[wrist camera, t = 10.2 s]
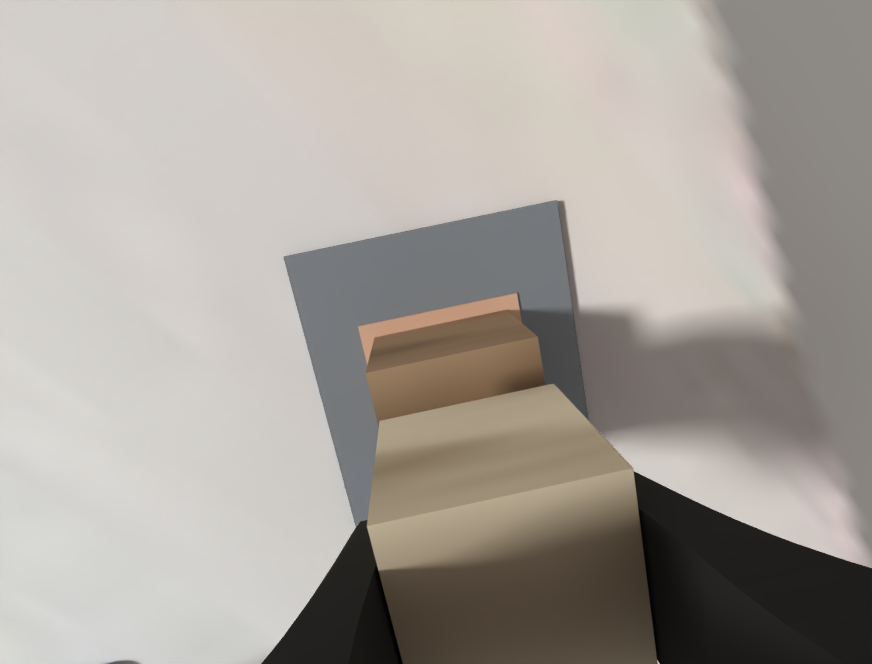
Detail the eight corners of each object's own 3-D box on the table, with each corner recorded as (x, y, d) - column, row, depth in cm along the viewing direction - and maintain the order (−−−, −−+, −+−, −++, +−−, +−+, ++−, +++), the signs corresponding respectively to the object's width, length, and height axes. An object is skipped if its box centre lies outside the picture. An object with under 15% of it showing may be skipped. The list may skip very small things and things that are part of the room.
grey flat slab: (596, 490, 21) (599, 496, 21) (361, 542, 21) (361, 548, 20) (554, 200, 18) (557, 200, 18) (285, 256, 18) (282, 257, 18)
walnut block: (527, 431, 20) (562, 491, 15) (402, 458, 20) (402, 526, 15) (506, 309, 19) (537, 336, 14) (374, 337, 19) (365, 373, 14)
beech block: (577, 536, 12) (660, 685, 8) (416, 573, 12) (423, 739, 8) (553, 383, 11) (633, 467, 7) (379, 420, 11) (366, 526, 7)
